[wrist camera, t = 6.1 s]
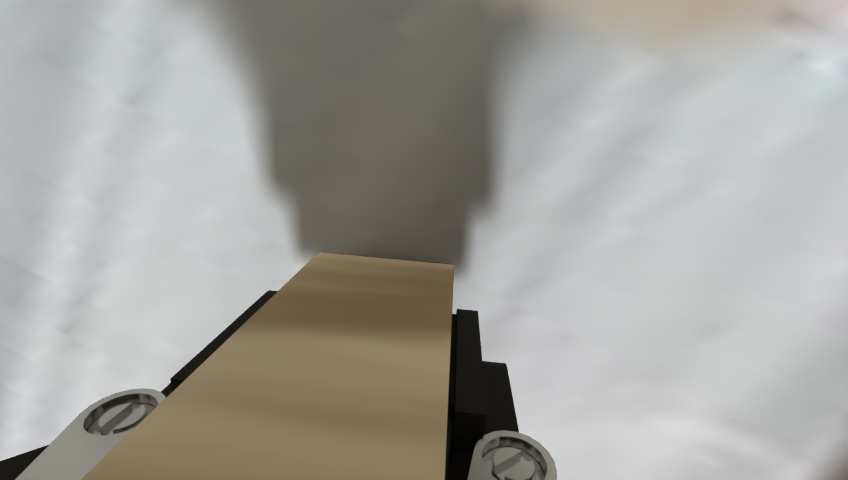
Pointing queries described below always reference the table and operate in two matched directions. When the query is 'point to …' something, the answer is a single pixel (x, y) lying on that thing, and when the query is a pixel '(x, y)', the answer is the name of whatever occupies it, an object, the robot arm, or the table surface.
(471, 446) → the robot arm
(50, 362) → the table surface
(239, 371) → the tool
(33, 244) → the table surface
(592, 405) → the table surface
